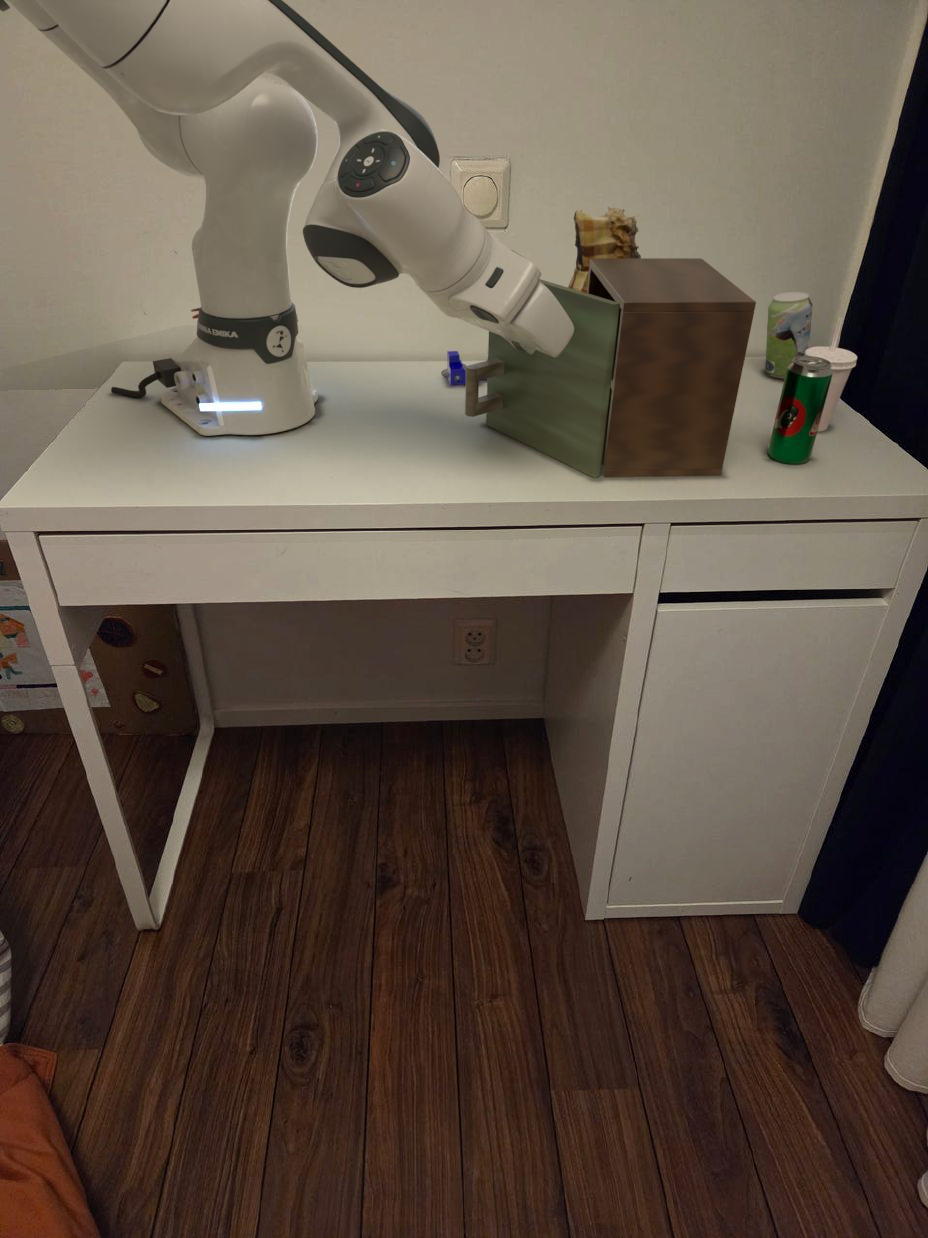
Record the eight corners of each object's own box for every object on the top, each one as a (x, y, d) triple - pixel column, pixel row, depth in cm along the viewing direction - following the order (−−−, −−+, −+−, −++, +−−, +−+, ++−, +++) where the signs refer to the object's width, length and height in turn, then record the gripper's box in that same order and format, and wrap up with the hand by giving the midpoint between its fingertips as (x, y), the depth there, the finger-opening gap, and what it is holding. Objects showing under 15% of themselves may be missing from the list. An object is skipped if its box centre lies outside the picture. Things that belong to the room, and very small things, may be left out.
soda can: (811, 468, 102) (838, 370, 95) (768, 464, 103) (791, 366, 96) (806, 451, 106) (831, 356, 100) (765, 447, 107) (787, 352, 100)
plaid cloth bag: (546, 352, 134) (559, 186, 115) (634, 362, 132) (661, 195, 113) (533, 403, 125) (544, 231, 106) (627, 414, 123) (655, 241, 104)
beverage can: (810, 382, 127) (831, 299, 120) (761, 382, 127) (779, 299, 120) (797, 368, 132) (816, 288, 125) (750, 368, 132) (766, 287, 125)
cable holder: (450, 386, 124) (450, 358, 122) (447, 377, 127) (447, 351, 125) (504, 383, 125) (505, 356, 123) (499, 375, 128) (500, 349, 126)
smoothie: (839, 421, 115) (869, 315, 106) (835, 438, 110) (866, 329, 102) (790, 413, 117) (816, 309, 109) (784, 430, 112) (810, 322, 104)
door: (561, 490, 96) (576, 312, 85) (454, 434, 109) (455, 273, 98) (600, 476, 100) (620, 302, 88) (491, 423, 112) (496, 265, 101)
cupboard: (603, 478, 100) (624, 302, 88) (575, 413, 116) (589, 258, 104) (720, 476, 100) (756, 301, 89) (676, 412, 117) (701, 258, 105)
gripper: (390, 275, 95) (457, 344, 106) (510, 322, 82) (573, 395, 93) (421, 227, 95) (486, 302, 106) (547, 266, 82) (606, 346, 93)
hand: (528, 346), depth 99 cm, fingers closed, pressing on door
